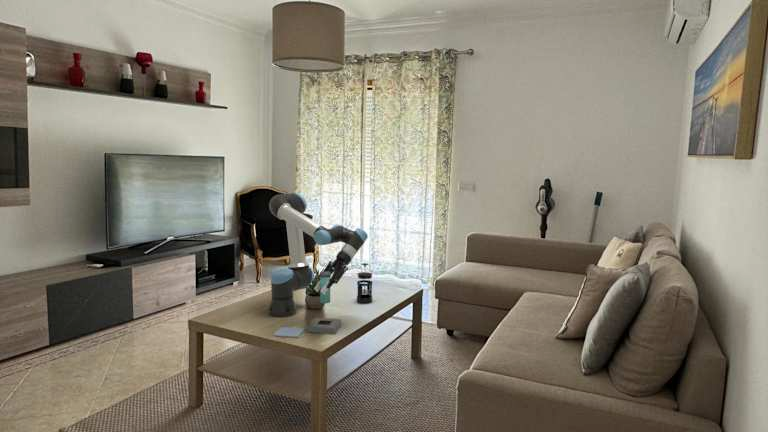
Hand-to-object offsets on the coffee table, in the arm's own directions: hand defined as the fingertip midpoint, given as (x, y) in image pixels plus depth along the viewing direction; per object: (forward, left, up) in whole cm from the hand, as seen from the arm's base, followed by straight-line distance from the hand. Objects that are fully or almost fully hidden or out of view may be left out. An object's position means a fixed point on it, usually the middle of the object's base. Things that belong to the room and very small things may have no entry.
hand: (319, 291), depth 262 cm
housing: (+2, +3, -19) cm, 20 cm away
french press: (+13, +54, -20) cm, 59 cm away
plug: (+2, +3, -6) cm, 7 cm away
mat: (-13, -7, -19) cm, 24 cm away
